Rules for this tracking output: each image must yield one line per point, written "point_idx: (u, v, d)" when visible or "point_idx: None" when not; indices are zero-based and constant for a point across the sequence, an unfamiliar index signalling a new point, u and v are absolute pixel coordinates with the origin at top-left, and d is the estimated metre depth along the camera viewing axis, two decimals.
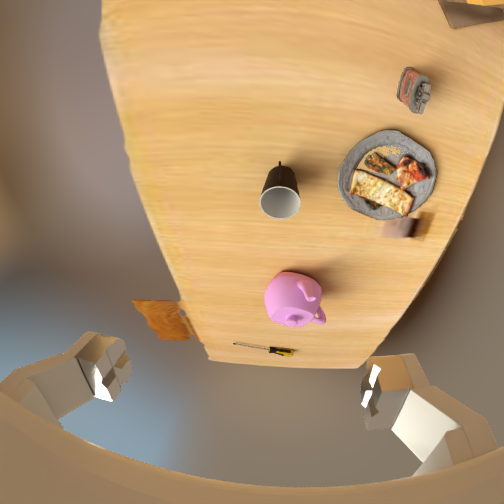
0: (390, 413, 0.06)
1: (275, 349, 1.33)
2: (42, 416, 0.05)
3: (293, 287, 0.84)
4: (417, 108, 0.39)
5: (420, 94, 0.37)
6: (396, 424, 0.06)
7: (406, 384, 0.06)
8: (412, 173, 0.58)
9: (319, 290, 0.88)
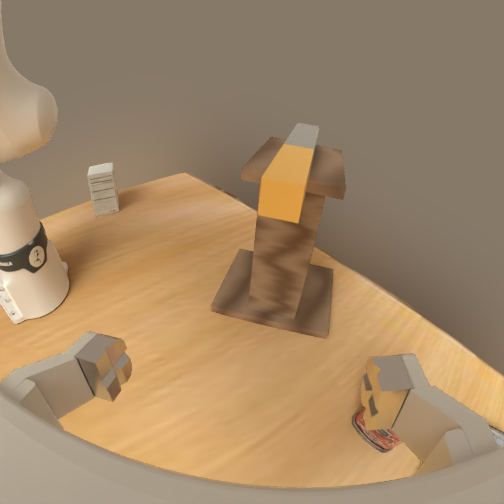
0: (390, 413, 0.06)
1: None
2: (42, 416, 0.05)
3: None
4: None
5: None
6: (396, 424, 0.06)
7: (406, 384, 0.06)
8: None
9: None
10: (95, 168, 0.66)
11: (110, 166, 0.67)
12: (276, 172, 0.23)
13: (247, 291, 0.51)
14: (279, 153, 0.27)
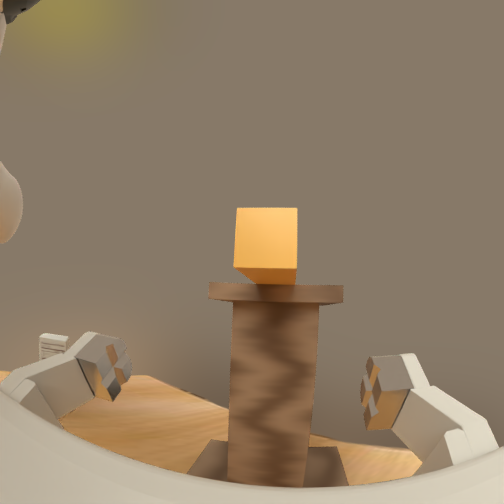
0: (390, 413, 0.06)
1: None
2: (42, 416, 0.05)
3: None
4: None
5: None
6: (396, 424, 0.06)
7: (406, 384, 0.06)
8: None
9: None
10: (49, 335, 0.53)
11: (65, 338, 0.54)
12: None
13: (224, 480, 0.26)
14: None
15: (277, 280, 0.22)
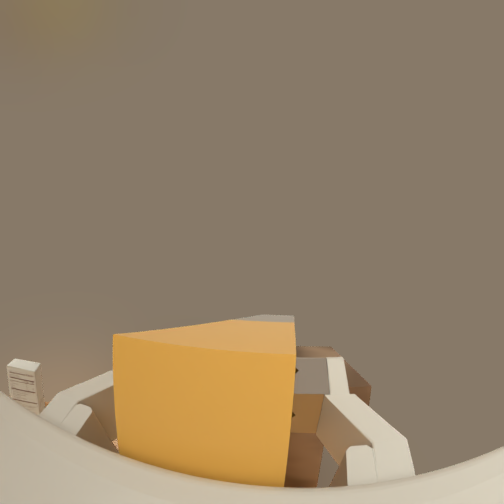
0: (309, 417, 0.07)
1: None
2: (100, 444, 0.05)
3: None
4: None
5: None
6: (320, 429, 0.07)
7: (322, 389, 0.06)
8: None
9: None
10: (19, 362, 0.42)
11: (35, 366, 0.43)
12: (181, 334, 0.06)
13: None
14: (216, 323, 0.12)
15: None
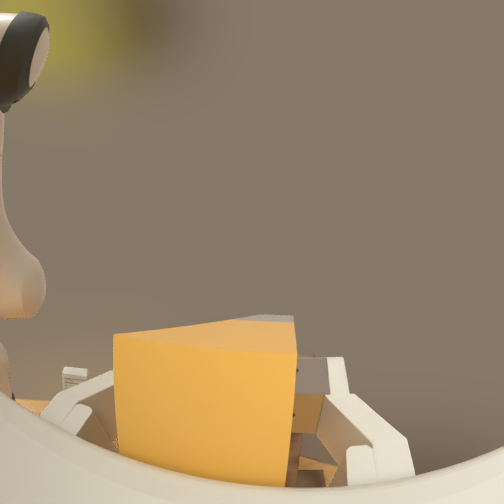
0: (309, 417, 0.07)
1: None
2: (100, 444, 0.05)
3: None
4: None
5: None
6: (320, 429, 0.07)
7: (322, 389, 0.06)
8: None
9: None
10: (70, 369, 0.59)
11: (85, 372, 0.60)
12: (182, 335, 0.06)
13: None
14: (216, 322, 0.12)
15: None
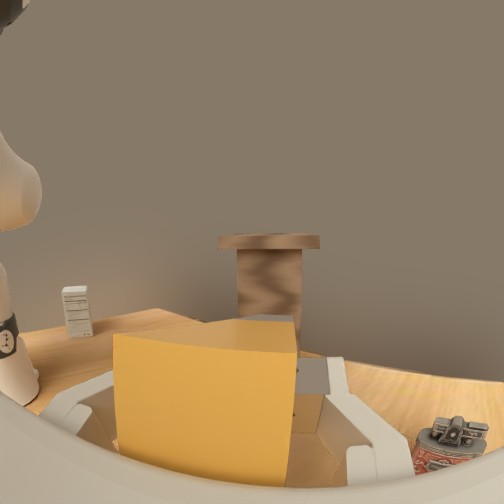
0: (309, 417, 0.07)
1: None
2: (100, 444, 0.05)
3: None
4: (480, 434, 0.15)
5: (453, 431, 0.17)
6: (320, 430, 0.07)
7: (322, 389, 0.06)
8: None
9: None
10: (69, 288, 0.64)
11: (84, 288, 0.66)
12: (182, 334, 0.06)
13: None
14: (216, 322, 0.12)
15: None
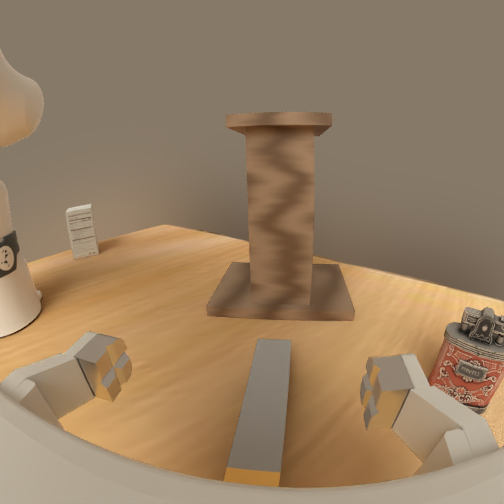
0: (390, 413, 0.06)
1: None
2: (42, 416, 0.05)
3: None
4: None
5: (485, 324, 0.17)
6: (396, 424, 0.06)
7: (406, 384, 0.06)
8: None
9: None
10: (74, 208, 0.63)
11: (89, 205, 0.65)
12: None
13: (247, 290, 0.43)
14: None
15: None
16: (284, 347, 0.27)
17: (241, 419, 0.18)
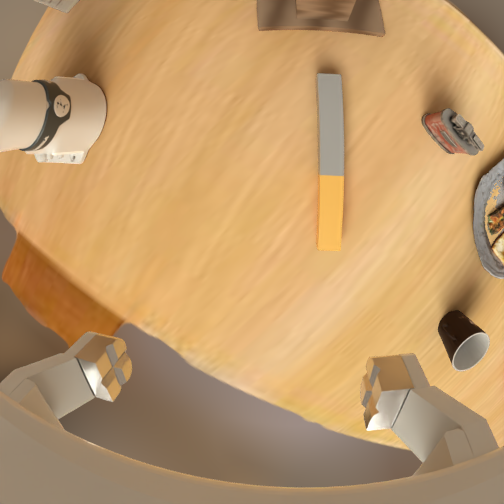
0: (390, 413, 0.06)
1: None
2: (42, 416, 0.05)
3: None
4: (476, 147, 0.27)
5: (463, 132, 0.27)
6: (396, 424, 0.06)
7: (406, 384, 0.06)
8: None
9: None
10: None
11: None
12: (324, 240, 0.41)
13: (287, 1, 0.31)
14: (321, 203, 0.39)
15: None
16: (337, 82, 0.33)
17: (321, 144, 0.37)
